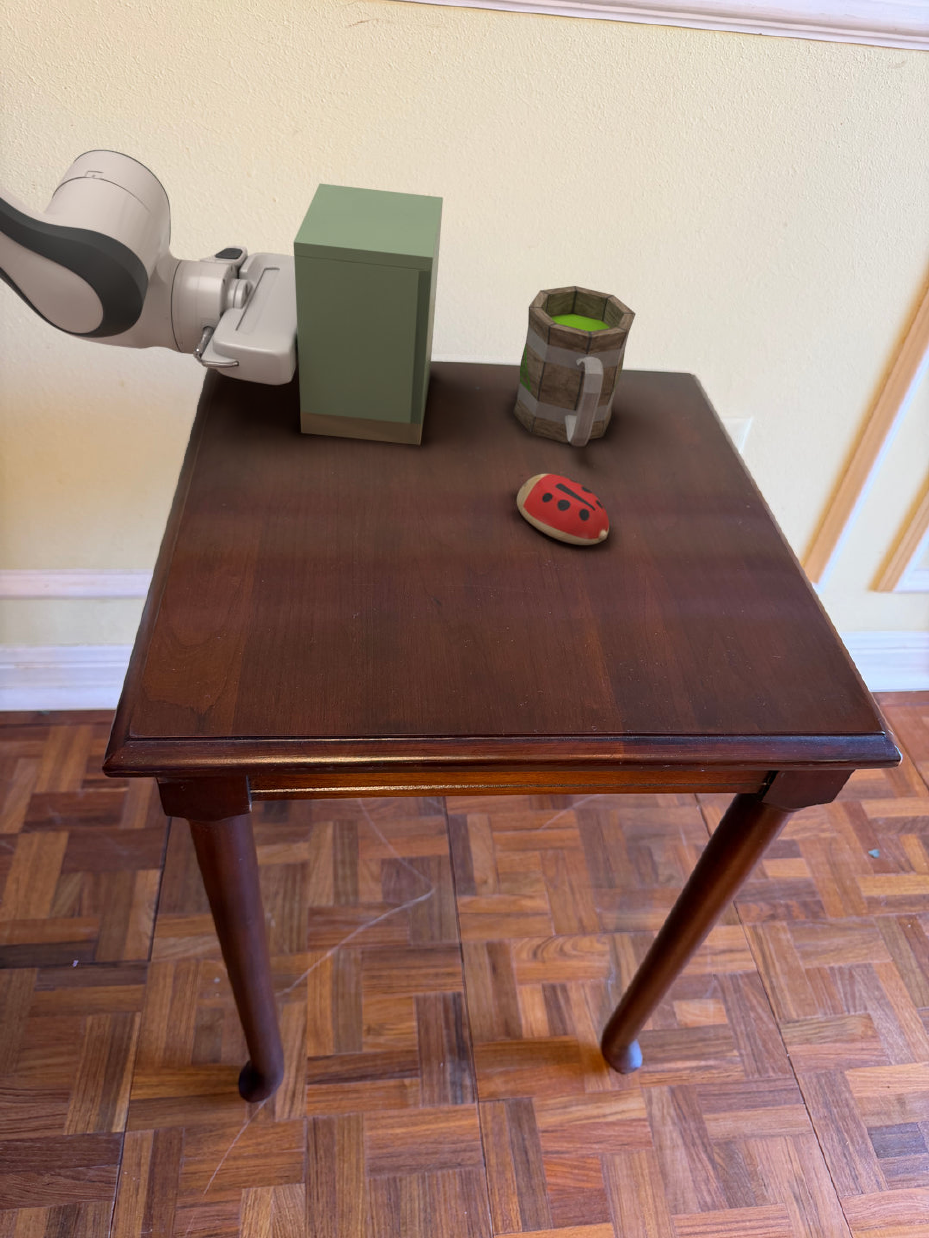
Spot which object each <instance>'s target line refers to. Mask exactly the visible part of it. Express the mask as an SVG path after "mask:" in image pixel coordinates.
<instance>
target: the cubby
mask: <svg viewBox="0 0 929 1238" xmlns="http://www.w3.org/2000/svg"><path fill="white" fill-rule="evenodd" d="M443 203H444V197H443V196H435V195H434V196H432V195H424V194H417V193H416V194H415V193H406V192H398V191H391V190H390V191H389V190H382V189H381V190H380V189H371V188H363V187H353V186H346V185H339V184H338V185H337V184H328V183H327V184H326V183H319V184H318V185H317V188H316V190H315V192H314V195H313V197H312V199H311V201H310V204H309V206H308V208H307V211H306V212H305V215H304V217H303V220H302V222H301V224H300V226H299V228H298V231H297V233H296V235H295V238H294V240H293V256H294V264H295V289H296V313H297V337H298V378H299V379H298V381H299V404H300V405H299V408H300V431H301V433H302V434H311V435H312V434H313V435H319V436H320V435H321V436H331V437H341V438H350V439H360V440H367V441H379V442H390V443H397V444H407V445H417V446H420V445H421V442H422V435H423V427H424V422H425V421H424V419H425V415H426V414H425V413H426V407H427V398H428V392H429V385H430V378H431V366H432V355H433V340H434V339H433V338H434V325H435V313H436V312H435V311H436V301H437V299H436V298H437V285H438V273H439V272H438V271H439V258H440V247H441V246H440V245H441V244H440V243H441V231H442V217H443V206H444V205H443Z"/></svg>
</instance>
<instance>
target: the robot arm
mask: <svg viewBox="0 0 929 1238" xmlns="http://www.w3.org/2000/svg"><path fill="white" fill-rule="evenodd" d="M171 231H172V225H171V204H170V200H169V196H168V194H167V191H166V190H165V188H164V186H163V184H162V182H161V181H160V179H158V177H157V175H155V173H154V172H153V171H152V170H150V168H148V166H145V164H143V163H142V162H140V161H139V160H137V159H136V158H133V157H131V156H129V155H128V154H125V153H123V152H120V151H116V150H109V149H93V150H89V151H85V152H84V153H82V154H80V155H79V156H77V158H75V159H74V161H73V162H72V164H70V165H69V167H68V169H67V170H66V172H65V173H64V175H63V177H62V178H61V180H60V181H59V183H58V185H57V187H56V189H55V190H54V191H53V194H52V196H51V199H50V201H49V203H48V205H47V207H46V208H45V209H44V212H39V211H37V210H34V209H32V208H31V207H29V206H27V205H26V204H24V203H23V202H22V201H21V200H19V199H18V198H17V197H16V196H15V195H14V194H12V193H11V192H10V191H9V190H7V189H6V188H5V187H4V186H3V185H2V184H0V280H1V281H3V283H5V285H7V286H8V287H9V288H10V289H11V290H12V291H13V292H14V293H15V294H16V295H17V296H18V297H19V298H20V299H21V301H23V303H25V305H27V306H28V308H30V309H31V311H32V312H34V313H35V314H36V315H37V316H38V317H39V318H40V319H42V320H43V321H44V322H45V323H46V324H48V325H50V326H51V327H53V328H55V329H56V330H58V331H60V332H62V333H64V334H66V335H68V336H72V337H74V338H76V339H80V340H82V341H86V342H91V343H96V344H99V345H105V346H113V347H119V348H127V349H137V350H143V349H149V348H154V347H155V348H158V347H159V348H165V349H168V350H171V351H173V352H176V353H178V354H179V353H180V354H187V355H193V358H195V360H196V361H197V362H198V363H199V364H201V366H202V367H204V368H207V369H213V370H217V372H218V373H219V374H222V375H223V376H225V377H229V378H233V379H238V380H241V381H247V382H253V383H257V384H258V383H259V384H264V385H270V386H280V385H284V384H289V383H290V382H292V380H293V377H294V374H295V371H296V368H297V367H298V366H297V365H298V364H299V361H298V337H297V313H296V289H295V264H294V255H289V254H283V253H273V252H262V251H261V252H254V253H251V254H249V252H248V248H247V247H245V246H242V245H228V246H225V247H224V248H223V249H221V250H219V251H218V252H216V253H214V254H212V255H210V256H206V257H202V258H200V259H199V260H192V259H191V260H190V259H181V258H176V257H175V256H174V255H173V254H172V252H171V249H170V244H171V236H172V235H171V233H172V232H171Z"/></svg>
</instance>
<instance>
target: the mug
mask: <svg viewBox="0 0 929 1238" xmlns="http://www.w3.org/2000/svg"><path fill="white" fill-rule="evenodd" d="M635 317H636V312H634V311H633V310H632V309H631V308H630V307H628V305H626V304H625V303H624V302H623V301H621V300H620V299H619V298H618V297H616V296H615V295H614V294H610V293H607V292H602V291H598V290H593V289H589V288H587V287H586V288H585V287H581V286H578V285H569V286H564V287H563V286H561V287H556V288H548V289H541V290H539V291H538V293H537V294H536V295H535V297H534V298H533V300H532V301H531V302H530V304H529V306H528V319H527V323H528V324H527V330H526V338H525V344H524V348H523V351H522V355H521V359H520V365H519V367H520V369H519V382H518V383H519V384H518V390H517V395H516V400H515V403H514V406H513V410H512V414H513V415H514V416H515V417H516V418H517V419H518V421H519V422H520V423H521V424H522V425H523V426H524V427H525V429H526V430H527V431H528V432H529V433H530V434H532V435H536V436H538V437H542V438H547V439H551V440H554V441H558V442H560V443H565V444H567V445H569V444H571V446H574V447H578V448H579V447H584V446H586V445H587V444H588V441H589V440H593V439H594V440H595V439H598V438H603V437H604V434H605V432H606V430H607V427H608V425H609V424H610V420H611V418H612V410H613V402H614V396H615V394H616V388H617V385H618V382H619V380H620V376H621V374H622V370H623V367H624V361H625V355H626V354H625V353H626V348H627V344H628V339H629V335H630V331H631V329H632V325H633V323H634V320H635Z"/></svg>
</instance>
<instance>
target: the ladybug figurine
mask: <svg viewBox="0 0 929 1238" xmlns="http://www.w3.org/2000/svg"><path fill="white" fill-rule="evenodd" d="M516 505H517V506H516V507H517V508H518V510H519V512H520V515H522V517H523V518H524V519H525V521H527V522H528V523H529V524H530V525H531V526H533V527H534V528H536V529H537V530H539V531H540V532H542V533H543V534H544V535H546V536H548V537H551V538H553V539H555V540H558V541H560V542H563V543H567V544H571V545H576V546H577V545H578V546H591V545H592V546H593V545H596V544H599V543H601V542H603V541H604V540H606V539H607V537H608V534H609V532H610V521H609V517H608V513H607V510H606V509H605V506H604V505H603V503H602V502H601V501H600V500H599V498H598V497H597V496H596V495H595V494H594V493H593V492H592V491H591V490H590V489H588V488H587V487H585V486H583V485H582V484H580V483H578V482H577V481H575V480H573V479H570V478H567V477H565V476H561V475H558V474H553V473H540V474H537V475H534V476H532V477H531V478H529V479H528V480H527V481H526V482H525V483H524V484H523V485H522V487H520V489H519V490H518V493H517V496H516Z"/></svg>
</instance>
